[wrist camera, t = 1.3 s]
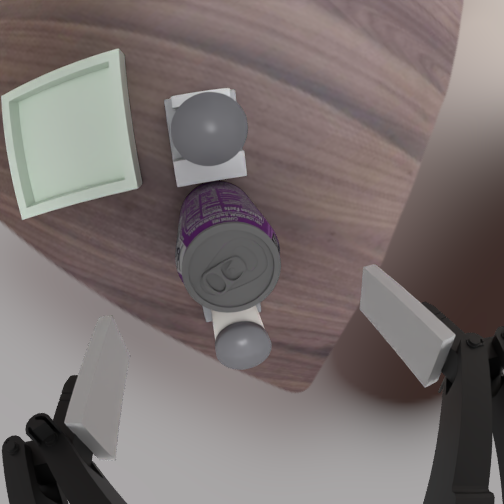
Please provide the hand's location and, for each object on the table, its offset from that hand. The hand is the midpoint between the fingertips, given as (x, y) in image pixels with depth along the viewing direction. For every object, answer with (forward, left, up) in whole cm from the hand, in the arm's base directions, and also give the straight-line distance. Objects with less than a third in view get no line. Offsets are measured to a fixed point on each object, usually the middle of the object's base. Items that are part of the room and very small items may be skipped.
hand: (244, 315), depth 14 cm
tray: (-11, -13, -16) cm, 24 cm away
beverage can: (0, 0, -16) cm, 16 cm away
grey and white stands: (0, 0, -16) cm, 16 cm away
